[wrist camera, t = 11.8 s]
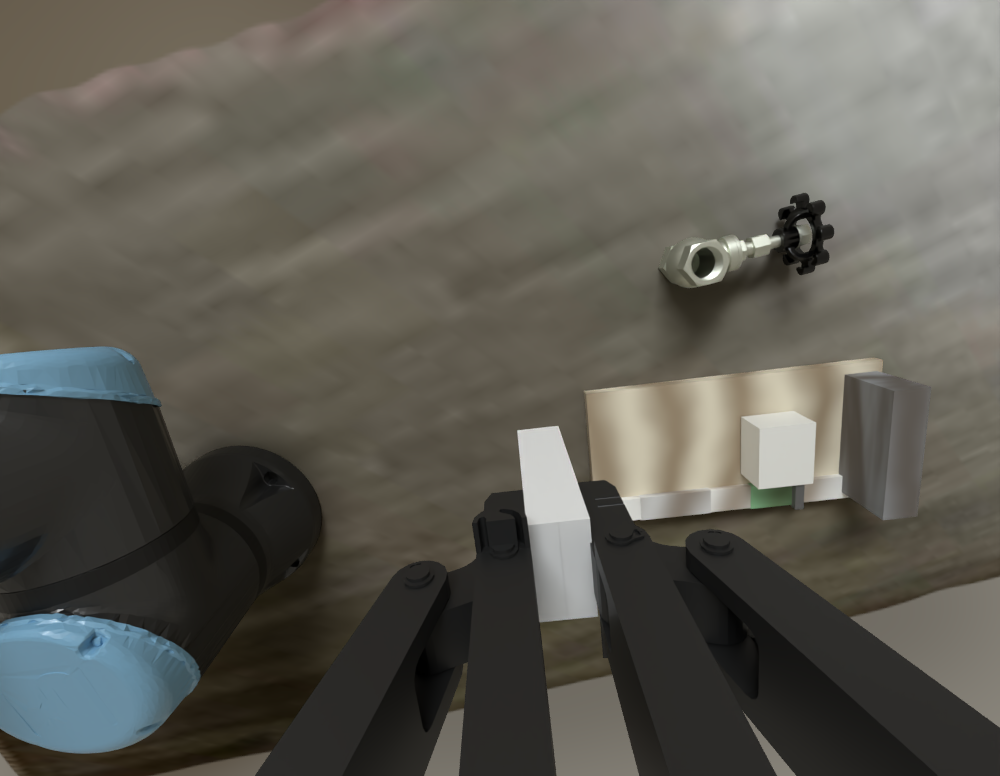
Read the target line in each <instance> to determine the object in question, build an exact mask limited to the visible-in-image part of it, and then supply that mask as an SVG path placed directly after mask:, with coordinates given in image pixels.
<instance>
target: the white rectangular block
mask: <svg viewBox="0 0 1000 776" xmlns="http://www.w3.org/2000/svg"><path fill="white" fill-rule="evenodd" d="M815 438H816V422H814V421H812V420H810V419H808V418H806V417H804V416H802V415H800V414H799V413H797V412H795V411H788V412H779V413H770V414H761V415H752V416H743V417H741V474H742V475H743V476H744V477H745V478H746V479H748V480H749V481H750V482H751V483H752V484H753V485H754V486H755V487H757V488H758V489H768V488H777V487H786V486H792V505H791V507H792V508H794V509H795V510H797V509H804V489H805V484H813V480H814V459H815Z"/></svg>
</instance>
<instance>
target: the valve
mask: <svg viewBox="0 0 1000 776" xmlns="http://www.w3.org/2000/svg"><path fill="white" fill-rule="evenodd" d="M793 203H796V208H795V207H794V206H788V207H784V208H781V209H780V210H779V212H778V216H779V219H780V220H782V219H786V220H787V221H786V222H785V224H784V227H783V228H780V229H776V230H775V231H774V232H773V235H772V237H768V235H767V234H764V235H758V236H755V237H751V238H747V239H746V242H745V243H744V241H743V240H740V241H739V240H738V238H737V237H736V236H735V235H728V236H725V237H721V238H719V239H718V240H717V239H712V240H705V239H702V238H687V239H684V240H682V241H680V242H679V243H677V244H676V245H673V246H669V247H666V248H665V250H664V253H663V256H662V259H661V262H660V264H659V267H658V268H659V270H660V271H661V272H662V273H663V274H664V276H665V277H666V278H667V279H668V280H669V281H670V282H671V283H673V284H677V285H679V286H681V287H685V288H695V287H700V286H704V285H708V284H712V283H716V282H720V281H722V279H723V277H724V275H725V273H726V272H730V271H734V270H737V269H739V268H740V266H741V264H742V261H744V260H746V257H747V256H748V258H756V257H760V256H764V255H768V254H769V253H770V250H771V249H773V248H774V249H775V250H776V251H777V252H779V253H781V252H785V251H786V253H787V254H785V255H783V262H784V264H785V265H792V264H796V263H798V262H799V261H800V262H801V263H802V265H801V267H798V268H796V270H797V272H798V274H799V275H804V274H808V273H812V272H813V271H814V270H815V266H816V265H820V264H824V263H827V262H828V261H829V253H828V251H827V250H824V249H823V242H824V240H827V239H831V238H832V237H833V235H834V228H833V226H832V225H830V224H828V225H824V226H823V224H822V221H821V215H822V214H823V213H824V212H825V208H826V206H825V203H824V201H822V200H818V201H815V202H811V203H809V196H808V194H807V193H802V194H798V195H794V196H792V197H791V200H790V204H793ZM804 218H806V219H807V220H808V222H809V223H810V226H811V229H812V232H811V229H810V227H809V226H808V225H807V224H805V225H799V226H797V225H796V223H797V221H798V220H800V219H804ZM811 236H812V238H813V239H812V245H811V248H810V250H809V252H805V253H804V252H803V251H802V250H801V249H800V248H799V247H800V246H801V245H805V244H809V242H810V240H811ZM691 263H692V266H691Z"/></svg>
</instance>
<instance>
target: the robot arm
mask: <svg viewBox="0 0 1000 776" xmlns="http://www.w3.org/2000/svg"><path fill="white" fill-rule="evenodd" d="M161 406H162V405H161V402H160V401H159V400H158V399H157V398H155V397H154V395H153V392H152V390H151V388H150V385H149V383H148V381H147V379H146V376H145V374H144V372H143V369H142V367H141V365H140V363H139V362H138V360H137V359H136V358H135V357H134V356H132V355H131V354H130V353H128V352H126V351H124V350H121V349H118V348H114V347H84V348H69V349H56V350H43V351H31V352H21V353H10V354H0V729H2V730H3V731H5V732H6V733H8V734H10V735H12V736H14V737H16V738H18V739H20V740H23V741H25V742H28V743H31V744H35V745H38V746H41V747H43V748H47V749H51V750H55V751H61V752H68V753H101V752H108V751H113V750H117V749H121V748H124V747H127V746H130V745H132V744H134V743H136V742H138V741H140V740H142V739H144V738H146V737H147V736H149V735H150V734H152V733H153V732H154V731H155V730H157V729H158V728H159V727H160V726H161V725H162V724H163V723H164V722H165V721H166V719H167V718H168V717H169V716H170V715H171V713H172V712H173V711H174V710H175V708H176V707H177V706H178V705H179V704H180V702H181V701H182V700H183V699H184V697H186V696H187V695H188V694H190V693H191V692H192V691H193V690H194V688H195V687H196V685H197V684H198V681H199V680H200V678H201V677H202V676H203V674H204V673H205V671H206V670H207V668H208V667H209V665H210V664H211V663H212V661H213V660H214V658H215V657H216V655H217V654H218V653H219V651H220V650H221V648H222V647H223V645H224V644H225V642H226V641H227V640H228V638H229V637H230V635H231V634H232V632H233V631H234V629H235V628H236V627H237V625H238V624H239V622H240V621H241V619H242V618H243V617H244V615H245V614H246V612H247V611H248V609H249V608H250V606H251V605H252V603H253V602H254V601H255V599H256V598H257V597H258V596H259V595H260V594H262V593H263V592H265V591H266V590H268V589H270V588H271V587H273V586H274V585H276V584H277V583H279V582H280V581H282V580H284V579H285V578H287V577H288V576H290V575H291V574H292V573H293V572H295V571H296V570H297V569H298V568H299V567H300V566H301V565H302V563H303V562H304V561H305V559H306V558H307V556H308V555H309V553H310V552H311V550H312V549H313V547H314V546H315V544H316V542H317V539H318V537H319V533H320V529H321V509H320V505H319V501H318V498H317V496H316V493H315V491H314V489H313V487H312V486H311V484H310V483H309V481H308V480H307V479H306V477H305V476H304V475H303V474H302V473H301V472H300V471H299V470H298V469H297V468H296V467H295V466H294V465H292V464H291V463H290V462H288V461H287V460H285V459H284V458H282V457H280V456H278V455H276V454H274V453H272V452H269V451H266V450H263V449H260V448H255V447H249V446H230V447H224V448H220V449H217V450H214V451H211V452H209V453H207V454H205V455H203V456H202V457H200V458H199V459H197V460H196V461H194V462H193V463H191V464H190V465H188V466H187V467H186V468H185V469H183V470H182V468H181V465H180V462H179V460H178V457H177V454H176V451H175V449H174V446H173V443H172V440H171V438H170V435H169V432H168V430H167V427H166V424H165V421H164V419H163V416H162V413H161V410H160V408H159V407H161ZM517 432H518V442H519V453H520V463H521V474H522V484H523V490H518V491H509V492H500V493H492V494H491V495H490V496H489V497H488V499H487V500H486V501H485V504H484V511H483V512H481V513H480V514H478V515H477V516H476V517H475V518H474V520H473V522H472V526H473V533H474V539H475V546H476V552H477V555H476V559H475V560H474V561H473V562H472V563H470V564H468V565H467V566H465V567H462V568H460V569H457V570H454V571H451V572H448V573H447V571H446V568H445V566H443V565H442V564H440V563H439V562H434V561H419V562H416V563H412V564H409V565H407V566H406V567H404V568H402V569H400V570H399V571H398V572H397V573H396V574H395V575H394V576H393V577H392V579H391V580H390V581H389V583H388V584H387V586H386V587H385V589H384V590H383V592H382V593H381V594H380V596H379V597H378V599H377V600H376V602H375V603H374V605H373V606H372V607H371V609H370V610H369V612H368V613H367V615H366V616H365V618H364V619H363V620H362V622H361V623H360V625H359V626H358V628H357V629H356V631H355V632H354V633H353V635H352V636H351V638H350V639H349V641H348V642H347V644H346V645H345V646H344V648H343V649H342V651H341V652H340V654H339V655H338V657H337V658H336V659H335V661H334V662H333V664H332V665H331V667H330V668H329V670H328V671H327V672H326V674H325V675H324V677H323V678H322V680H321V681H320V683H319V684H318V685H317V687H316V688H315V690H314V691H313V693H312V694H311V696H310V697H309V698H308V700H307V701H306V703H305V704H304V706H303V707H302V709H301V710H300V711H299V713H298V714H297V716H296V717H295V719H294V720H293V722H292V723H291V724H290V726H289V727H288V729H287V730H286V732H285V733H284V735H283V736H282V737H281V739H280V740H279V742H278V743H277V745H276V746H275V748H274V749H273V750H272V752H271V753H270V755H269V756H268V758H267V759H266V761H265V762H264V763H263V765H262V766H261V768H260V769H259V771H258V772H257V774H256V775H255V776H424V774H425V771H426V769H427V766H428V763H429V761H430V758H431V755H432V753H433V750H434V747H435V745H436V742H437V739H438V737H439V734H440V731H441V729H442V726H443V723H444V721H445V718H446V715H447V713H448V710H449V707H450V705H451V702H452V699H453V697H454V694H455V691H456V689H457V686H458V683H459V681H460V678H461V675H462V670H463V664H464V663H467V662H468V668H467V681H466V694H465V706H464V720H463V732H462V744H461V757H460V769H459V776H556V767H555V759H554V749H553V740H552V731H551V723H550V714H549V704H548V694H547V685H546V676H545V667H544V658H543V649H542V640H541V631H540V623H539V622H547V621H557V620H567V619H577V618H587V617H597V616H598V612H597V605H598V609H599V612H600V623H601V636H602V648H603V658H608V659H609V663H610V667H611V671H612V674H613V678H614V682H615V685H616V689H617V693H618V697H619V701H620V704H621V708H622V712H623V716H624V720H625V723H626V727H627V731H628V735H629V738H630V742H631V746H632V750H633V753H634V757H635V761H636V765H637V769H638V772H639V776H777V775H776V773H775V772H774V769H773V768H772V766H771V764H770V762H769V760H768V758H767V756H766V755H765V753H764V751H763V749H762V747H761V745H760V743H759V741H758V739H757V737H756V736H755V734H754V732H753V730H752V728H751V726H750V725H749V722H748V721H747V719H746V717H745V715H744V713H745V714H746V715H747V716H748V718H749V719H750V720H751V721H752V723H753V724H754V725H755V726H756V727H757V729H758V730H759V731H760V732H761V733H762V735H763V736H764V737H765V738H766V739H767V740H768V742H769V743H770V744H771V746H772V747H773V748H774V749H775V750H776V752H777V753H778V754H779V755H780V756H781V758H782V759H783V760H784V761H785V762H786V764H787V765H788V766H789V767H790V768H791V770H792V771H793V772H794V773H795V775H796V776H1000V728H999V727H998V726H997V725H995V724H994V723H992V722H991V721H990V720H988V719H987V718H985V717H984V716H983V715H982V714H980V713H979V712H978V711H976V710H975V709H974V708H972V707H971V706H969V705H968V704H967V703H965V702H964V701H962V700H961V699H960V698H958V697H957V696H956V695H954V694H953V693H952V692H950V691H949V690H948V689H946V688H945V687H943V686H942V685H941V684H939V683H938V682H937V681H935V680H934V679H932V678H931V677H930V676H928V675H927V674H925V673H924V672H923V671H922V670H920V669H919V668H918V667H916V666H915V665H913V664H912V663H911V662H909V661H908V660H907V659H905V658H904V657H902V656H901V655H900V654H898V653H897V652H896V651H894V650H893V649H892V648H890V647H889V646H887V645H886V644H885V643H883V642H882V641H880V640H879V639H878V638H877V637H875V636H874V635H873V634H871V633H870V632H868V631H867V630H866V629H864V628H863V627H862V626H860V625H859V624H858V623H856V622H855V621H853V620H852V619H851V618H849V617H848V616H847V615H845V614H844V613H842V612H841V611H840V610H838V609H837V608H836V607H834V606H833V605H832V604H830V603H829V602H827V601H826V600H825V599H823V598H822V597H821V596H819V595H818V594H817V593H815V592H814V591H812V590H811V589H810V588H808V587H807V586H806V585H804V584H803V583H802V582H800V581H799V580H797V579H796V578H795V577H793V576H792V575H791V574H789V573H788V572H787V571H785V570H784V569H782V568H781V567H780V566H778V565H777V564H776V563H774V562H773V561H772V560H770V559H769V558H767V557H766V556H765V555H763V554H762V553H761V552H759V551H758V550H757V549H755V548H754V547H752V546H751V545H750V544H748V543H747V542H746V541H744V540H743V539H741V538H740V537H738V536H736V535H734V534H732V533H728V532H725V531H721V530H714V529H711V530H701V531H697V532H695V533H692V534H690V535H689V536H688V537H687V539H686V547H677V546H668V545H662V544H658V543H655V542H652V540H651V538H650V536H649V535H648V534H647V532H646V531H645V530H644V529H642V528H640V527H638V526H636V525H635V524H634V522H633V520H632V518H631V516H630V514H629V512H628V510H627V508H626V506H625V504H624V502H623V500H622V498H621V497H620V495H619V493H618V491H617V489H616V487H615V486H614V485H612V484H611V483H609V482H608V481H606V480H599V481H589V482H580V483H577V480H576V477H575V474H574V471H573V468H572V465H571V462H570V459H569V456H568V453H567V450H566V448H565V445H564V442H563V439H562V436H561V433H560V430H559V427H558V426H553V427H544V428H535V429H527V430H518V431H517ZM742 710H743V711H742ZM743 712H744V713H743Z"/></svg>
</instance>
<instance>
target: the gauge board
mask: <svg viewBox="0 0 1000 776" xmlns="http://www.w3.org/2000/svg"><path fill="white" fill-rule="evenodd" d="M882 367H883V360H881V359H877V358H865V359H857V360H848V361H839V362H831V363H822V364H814V365H805V366H796V367H788V368H779V369H770V370H762V371H753V372H745V373H736V374H727V375H719V376H710V377H701V378H693V379H684V380H675V381H667V382H658V383H650V384H641V385H632V386H624V387H615V388H606V389H598V390H589V391H584V397H585V410H586V422H587V435H588V447H589V460H590V472H591V481H599V480H606V481H608V482H609V483H611V484H612V485H614V486H615V487H616V489H617V491H618V493H619V495H620V497H621V498H622V500H623V502H624V504H625V506H626V508H627V510H628V512H629V514H630V516H631V518H632V520H650V519H659V518H669V517H678V516H687V515H697V514H706V513H711V512H718V511H727V510H737V509H746V508H751V509H755V508H765V507H774V506H783V505H792V486H786V487H777V488H768V489H758V488H757V487H755V486H754V485H753V484H752V483H751V482H750V481H749V480H748V479H746V478H745V477H744V476H743V475H742V474H741V417H743V416H752V415H761V414H770V413H779V412H788V411H795V412H797V413H799V414H800V415H802V416H804V417H806V418H808V419H810V420H812V421H814V422H816V438H815V459H814V480H813V484H805V489H804V502H812V501H821V500H830V499H840V498H849V497H850V498H851V499H853V500H854V501H855V502H857V503H858V504H860V505H861V506H863V507H864V508H866V509H867V510H869V511H870V512H872V513H873V514H875V515H876V516H878V517H879V518H880V519H882V520H889V519H898V518H908V517H917V513H918V504H919V495H920V486H921V477H922V468H923V459H924V450H925V440H926V431H927V422H928V413H929V404H930V395H931V387H930V386H926V385H923V384H920V383H916V382H913V381H909V380H906V379H903V378H899V377H896V376H892V375H889V374H886V373H882Z"/></svg>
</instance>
